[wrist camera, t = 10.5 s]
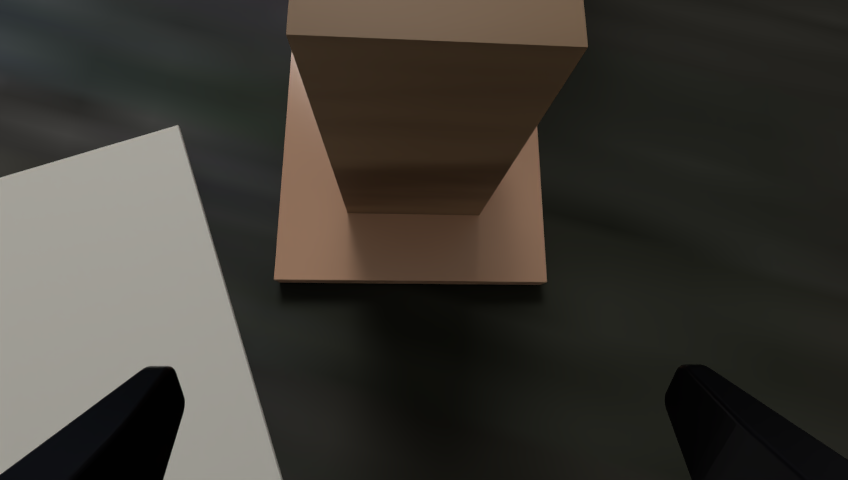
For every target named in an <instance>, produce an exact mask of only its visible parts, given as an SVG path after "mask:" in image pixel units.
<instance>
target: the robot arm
mask: <svg viewBox="0 0 848 480" xmlns="http://www.w3.org/2000/svg"><path fill="white" fill-rule="evenodd" d="M665 406H666V410H667V412H668V415H669V418H670V421H671V423H672V426H673V429H674V432H675V434H676V437H677V440H678V443H679V445H680V448H681V451H682V454H683V457H684V459H685V462H686V465H687V468H688V470H689V473H690V476H691V478H692V480H848V460H847V459H846V458H844V457H843V456H841V455H840V454H838V453H837V452H835V451H834V450H832V449H831V448H829V447H828V446H826V445H825V444H823V443H822V442H820V441H819V440H817V439H816V438H814V437H813V436H811V435H810V434H808V433H807V432H805V431H804V430H802V429H800V428H799V427H797V426H796V425H794V424H793V423H791V422H790V421H788V420H787V419H785V418H784V417H782V416H781V415H779V414H778V413H776V412H775V411H773V410H772V409H770V408H769V407H767V406H766V405H764V404H763V403H761V402H760V401H758V400H757V399H755V398H754V397H752V396H751V395H749V394H748V393H746V392H745V391H743V390H742V389H740V388H739V387H737V386H736V385H734V384H733V383H731V382H730V381H728V380H727V379H725V378H724V377H722V376H721V375H719V374H718V373H716V372H715V371H713V370H712V369H710V368H708V367H707V366H704V365H681V366H680V367H679V368H678V369H677V370H676V372H675V375H674V377H673V379H672V381H671V383H670V385H669V387H668V390H667V392H666V394H665ZM184 408H185V399H184V395H183V392H182V389H181V386H180V383H179V380H178V377H177V374H176V371H175V369H174V368H173V367H171V366H148V367H145V368H143V369H142V370H140V371H139V372H138V373H136V374H135V375H134V376H132V377H131V378H130V379H128V380H127V381H126V382H124V383H123V384H121V385H120V386H119V387H117V388H116V389H115V390H113V391H112V392H111V393H109V394H108V395H107V396H105V397H104V398H103V399H101V400H100V401H99V402H97V403H96V404H95V405H93V406H92V407H90V408H89V409H88V410H86V411H85V412H84V413H82V414H81V415H80V416H78V417H77V418H76V419H74V420H73V421H72V422H70V423H69V424H68V425H66V426H65V427H64V428H62V429H61V430H59V431H58V432H57V433H55V434H54V435H53V436H51V437H50V438H49V439H47V440H46V441H45V442H43V443H42V444H41V445H39V446H38V447H37V448H35V449H34V450H33V451H31V452H30V453H28V454H27V455H26V456H24V457H23V458H22V459H20V460H19V461H18V462H16V463H15V464H14V465H12V466H11V467H10V468H8V469H7V470H6V471H4V472H3V473H1V474H0V480H163V479H164V476H165V472H166V469H167V466H168V462H169V459H170V456H171V452H172V449H173V446H174V443H175V439H176V436H177V433H178V429H179V426H180V423H181V419H182V416H183V413H184Z"/></svg>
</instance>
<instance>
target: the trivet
mask: <svg viewBox="0 0 848 480" xmlns="http://www.w3.org/2000/svg"><path fill="white" fill-rule="evenodd" d="M274 280H276V281H278V282H280V283H387V284H496V285H541V284H543V283H546V282H547V275H546V259H545V243H544V228H543V212H542V196H541V180H540V164H539V148H538V132H537V127H536V128H535V130H534V131H533V133H532V134H531V136H530V138H529V139H528V141H527V142H526V144H525V145H524V147H523V148H522V150H521V151H520V153H519V155H518V156H517V158H516V159H515V161H514V162H513V164H512V165H511V167H510V168H509V170H508V172H507V173H506V175H505V176H504V178H503V179H502V181H501V182H500V184H499V185H498V187H497V189H496V190H495V192H494V193H493V195H492V196H491V198H490V199H489V201H488V202H487V204H486V206H485V207H484V209H483V210H482V212H481V213H480V215H430V214H373V213H347V210H346V207H345V204H344V202H343V199H342V196H341V193H340V190H339V187H338V184H337V181H336V178H335V175H334V172H333V169H332V167H331V164H330V161H329V158H328V155H327V152H326V149H325V146H324V143H323V140H322V137H321V134H320V132H319V129H318V126H317V123H316V120H315V117H314V114H313V111H312V108H311V105H310V102H309V100H308V97H307V94H306V91H305V88H304V85H303V82H302V79H301V76H300V73H299V70H298V67H297V65H296V62H295V59H294V56H293V53H292V54H291V67H290V80H289V93H288V106H287V119H286V132H285V145H284V158H283V171H282V184H281V196H280V209H279V222H278V235H277V248H276V261H275V274H274Z"/></svg>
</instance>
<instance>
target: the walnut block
mask: <svg viewBox="0 0 848 480" xmlns="http://www.w3.org/2000/svg"><path fill="white" fill-rule="evenodd" d="M286 35H287V38H288V41H289V44H290V47H291V50H292V53H293V56H294V59H295V62H296V65H297V67H298V70H299V73H300V76H301V79H302V82H303V85H304V88H305V91H306V94H307V97H308V100H309V102H310V105H311V108H312V111H313V114H314V117H315V120H316V123H317V126H318V129H319V132H320V134H321V137H322V140H323V143H324V146H325V149H326V152H327V155H328V158H329V161H330V164H331V167H332V169H333V172H334V175H335V178H336V181H337V184H338V187H339V190H340V193H341V196H342V199H343V202H344V204H345V207H346V210H347V213H373V214H430V215H480V213H481V212H482V210H483V209H484V207H485V206H486V204H487V202H488V201H489V199H490V198H491V196H492V195H493V193H494V192H495V190H496V189H497V187H498V185H499V184H500V182H501V181H502V179H503V178H504V176H505V175H506V173H507V172H508V170H509V168H510V167H511V165H512V164H513V162H514V161H515V159H516V158H517V156H518V155H519V153H520V151H521V150H522V148H523V147H524V145H525V144H526V142H527V141H528V139H529V138H530V136H531V134H532V133H533V131H534V130H535V128H536V127H537V125H538V124H539V122H540V121H541V119H542V117H543V116H544V114H545V113H546V111H547V110H548V108H549V107H550V105H551V104H552V102H553V100H554V99H555V97H556V96H557V94H558V93H559V91H560V90H561V88H562V87H563V85H564V83H565V82H566V80H567V79H568V77H569V76H570V74H571V73H572V71H573V70H574V68H575V66H576V65H577V63H578V62H579V60H580V59H581V57H582V56H583V54H584V53H585V51H586V49H587V48H588V42H587V32H586V22H585V11H584V1H583V0H289V5H288V18H287V30H286Z"/></svg>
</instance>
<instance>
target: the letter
mask: <svg viewBox="0 0 848 480" xmlns="http://www.w3.org/2000/svg"><path fill="white" fill-rule="evenodd" d="M148 366H171V367H173V368H174V369H175V371H176V374H177V377H178V380H179V383H180V386H181V389H182V392H183V395H184V399H185V408H184V413H183V416H182V419H181V423H180V426H179V429H178V433H177V436H176V439H175V443H174V446H173V449H172V452H171V456H170V459H169V462H168V466H167V469H166V472H165V476H164V479H163V480H283V479H282V475H281V472H280V469H279V465H278V462H277V458H276V455H275V452H274V448H273V445H272V441H271V438H270V434H269V431H268V428H267V424H266V421H265V417H264V414H263V410H262V407H261V404H260V400H259V397H258V393H257V390H256V387H255V383H254V380H253V376H252V373H251V369H250V366H249V363H248V359H247V356H246V352H245V349H244V346H243V342H242V339H241V335H240V332H239V328H238V325H237V322H236V318H235V315H234V311H233V308H232V304H231V301H230V298H229V294H228V291H227V287H226V284H225V281H224V277H223V274H222V270H221V267H220V263H219V260H218V257H217V253H216V250H215V246H214V243H213V240H212V236H211V233H210V229H209V226H208V222H207V219H206V216H205V212H204V209H203V205H202V202H201V198H200V195H199V192H198V188H197V185H196V181H195V178H194V175H193V171H192V168H191V164H190V161H189V157H188V154H187V151H186V147H185V144H184V140H183V137H182V134H181V130H180V127H179V126H178V125H177V126H174V127H170V128H167V129H163V130H160V131H157V132H153V133H150V134H147V135H143V136H140V137H136V138H133V139H130V140H126V141H123V142H119V143H116V144H113V145H109V146H106V147H103V148H99V149H96V150H92V151H89V152H86V153H82V154H79V155H76V156H72V157H69V158H65V159H62V160H59V161H55V162H52V163H48V164H45V165H42V166H38V167H35V168H32V169H28V170H25V171H21V172H18V173H15V174H11V175H8V176H5V177H1V178H0V474H1V473H3V472H4V471H6V470H7V469H8V468H10V467H11V466H12V465H14V464H15V463H16V462H18V461H19V460H20V459H22V458H23V457H24V456H26V455H27V454H28V453H30V452H31V451H33V450H34V449H35V448H37V447H38V446H39V445H41V444H42V443H43V442H45V441H46V440H47V439H49V438H50V437H51V436H53V435H54V434H55V433H57V432H58V431H59V430H61V429H62V428H64V427H65V426H66V425H68V424H69V423H70V422H72V421H73V420H74V419H76V418H77V417H78V416H80V415H81V414H82V413H84V412H85V411H86V410H88V409H89V408H90V407H92V406H93V405H95V404H96V403H97V402H99V401H100V400H101V399H103V398H104V397H105V396H107V395H108V394H109V393H111V392H112V391H113V390H115V389H116V388H117V387H119V386H120V385H121V384H123V383H124V382H126V381H127V380H128V379H130V378H131V377H132V376H134V375H135V374H136V373H138V372H139V371H140V370H142V369H143V368H145V367H148Z"/></svg>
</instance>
